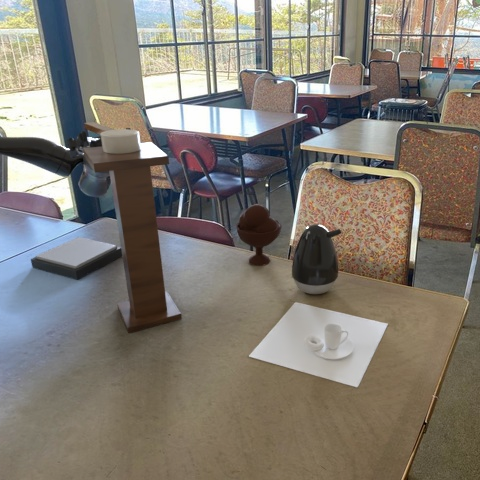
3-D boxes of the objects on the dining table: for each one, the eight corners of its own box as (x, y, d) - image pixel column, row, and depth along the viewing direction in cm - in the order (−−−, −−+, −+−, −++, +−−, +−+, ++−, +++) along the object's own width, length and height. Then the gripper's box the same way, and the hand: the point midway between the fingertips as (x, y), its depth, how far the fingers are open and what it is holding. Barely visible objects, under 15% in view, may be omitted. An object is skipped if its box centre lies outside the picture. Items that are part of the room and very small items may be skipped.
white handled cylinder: (74, 138, 93) (71, 122, 92) (107, 134, 97) (105, 119, 96) (111, 155, 82) (109, 137, 81) (147, 150, 86) (145, 133, 85)
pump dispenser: (339, 301, 102) (342, 235, 96) (290, 299, 102) (290, 233, 96) (337, 278, 111) (340, 217, 105) (293, 277, 111) (293, 215, 105)
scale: (30, 267, 112) (28, 256, 111) (79, 245, 124) (77, 234, 123) (77, 279, 107) (75, 268, 106) (123, 255, 119) (121, 244, 118)
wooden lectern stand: (109, 301, 99) (82, 148, 86) (167, 287, 105) (150, 142, 92) (122, 334, 89) (94, 165, 76) (186, 317, 95) (170, 157, 82)
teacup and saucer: (299, 353, 85) (299, 334, 83) (315, 329, 92) (316, 311, 90) (345, 366, 82) (347, 346, 80) (359, 340, 89) (361, 322, 87)
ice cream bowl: (289, 263, 117) (289, 205, 111) (248, 274, 112) (246, 214, 105) (268, 248, 125) (268, 193, 119) (229, 257, 119) (226, 200, 113)
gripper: (137, 170, 115) (147, 148, 100) (71, 177, 108) (72, 155, 93) (130, 139, 115) (139, 113, 101) (64, 145, 108) (64, 118, 94)
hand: (107, 133), depth 97 cm, fingers open, 8 cm apart
